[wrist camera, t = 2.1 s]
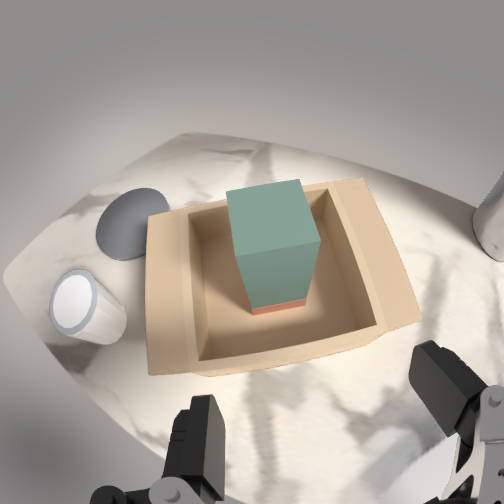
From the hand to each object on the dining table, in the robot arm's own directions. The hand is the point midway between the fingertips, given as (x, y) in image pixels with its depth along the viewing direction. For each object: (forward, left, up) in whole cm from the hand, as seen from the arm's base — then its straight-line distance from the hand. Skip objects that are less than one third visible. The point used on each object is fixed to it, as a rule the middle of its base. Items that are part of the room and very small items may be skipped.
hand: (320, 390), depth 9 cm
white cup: (+17, -14, -16) cm, 27 cm away
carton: (-2, -10, -16) cm, 19 cm away
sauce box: (-2, -10, -15) cm, 18 cm away
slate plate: (+11, -26, -16) cm, 32 cm away
